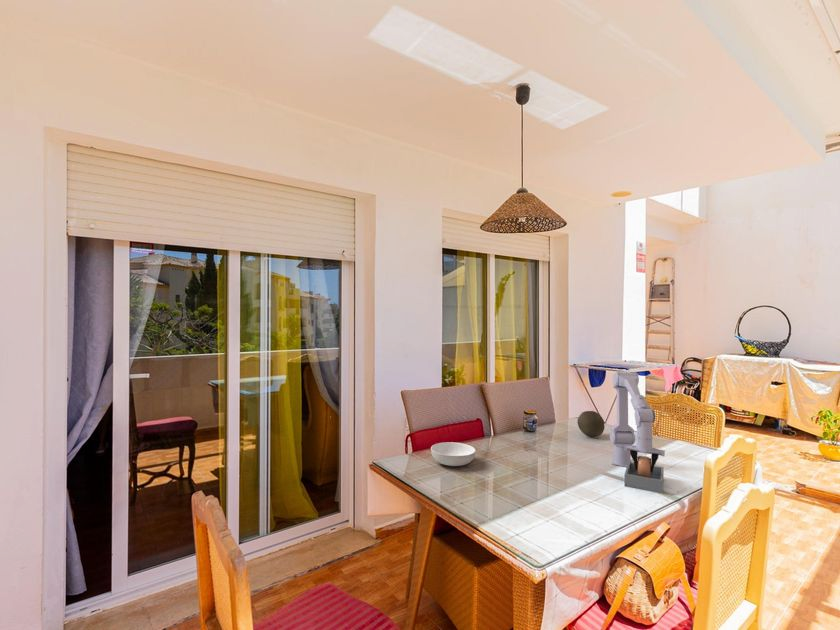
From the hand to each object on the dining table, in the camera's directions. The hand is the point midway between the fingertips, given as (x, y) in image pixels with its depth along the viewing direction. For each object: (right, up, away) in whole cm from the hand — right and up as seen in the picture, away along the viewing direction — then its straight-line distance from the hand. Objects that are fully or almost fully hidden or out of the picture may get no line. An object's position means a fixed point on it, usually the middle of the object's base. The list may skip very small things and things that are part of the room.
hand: (644, 470), depth 177 cm
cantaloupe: (+6, -6, +69) cm, 70 cm away
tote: (+2, -6, +3) cm, 7 cm away
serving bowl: (-77, -6, +24) cm, 81 cm away
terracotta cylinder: (0, -2, 0) cm, 2 cm away
